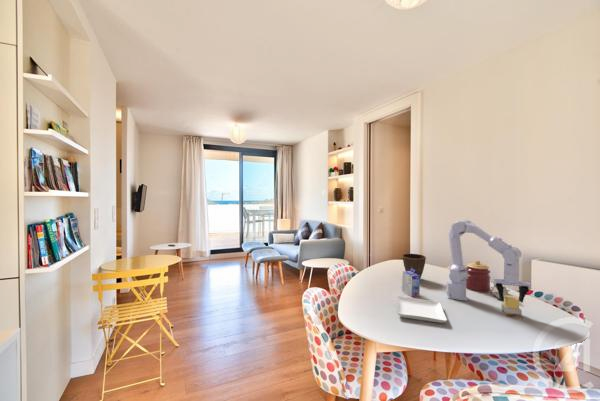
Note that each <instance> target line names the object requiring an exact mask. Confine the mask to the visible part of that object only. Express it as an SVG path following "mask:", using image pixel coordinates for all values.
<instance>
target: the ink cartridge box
mask: <svg viewBox="0 0 600 401" xmlns="http://www.w3.org/2000/svg"><path fill="white" fill-rule="evenodd" d="M411 270H413V271H414V272H415V270H414V269H412V268H411ZM411 270H410V271H404V270H403V271H402V275H401V279H402V281H401V282H402V283H401V292H403V293H405V294H406V295H408V296H410V298H414V297H420V292H421V291H420V289H421V287H420V286H421V285H420V283H421V278H420V275H417V274H415V273H414V272H412V271H411Z"/></svg>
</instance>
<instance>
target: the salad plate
mask: <svg viewBox="0 0 600 401" xmlns="http://www.w3.org/2000/svg"><path fill="white" fill-rule="evenodd" d="M396 304H397V305H396V306H397V308H396V314H397V315H398V316H399V317H402V318H405V319H410V318H411V319H412V320H417V321H423V322H424V321H426V322H432V323H440V324H442V323H443V324H444V323H446V322H447V321H448V318H447V316H446V314H445V312H444V310H443V306H442V304H441V302H439V301H435V300H428V299H421V298H414V297H405V296H397V297H396Z"/></svg>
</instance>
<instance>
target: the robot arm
mask: <svg viewBox="0 0 600 401" xmlns="http://www.w3.org/2000/svg"><path fill="white" fill-rule="evenodd" d="M465 233H466V234H468V233H469V234H474V235H476V236H477V237H479V238H480V239H482V240H483V241H485V242H487V244H488V246H489V247H490V248H491V249H493V250H495V251H496V252H497V253H499V254H500V255H501V256H502V258H503V260H504V262H503V264H504V265H503V279H497V278H496V279H495V278H492V284H493V285H496V287H497V289H498V292H499V295H500V300H503V301H504V298H503V289H504V287H505V286H513V287H518V291H519V295H518V299H519V303H523V302H524V299H525V297H526V295H527V294H528V292H529V291H530V289H532V284H531V282H526V281H521V280H520V258H521V257H522V251H521V250H520V249H519V248H518V247H516V246H513V245H511V244H508V243H507V242H505V241H503V238H501V237H497V236H496V237H495V236H492V235H490V234H489V233H488V232H486V231H484V230H483V229H482V228H480V227H479V226H478V225H476V223H474V222H472V221H471V220H468V219H465V220H457V221H455V222H453V223H452V224H451V228H450V230H449V232H448V238H449V239H448V240H449V246H450V247H449V248H450V258H451V267H450V268H449V274H448V277H449V280H447V281H446V296H447V298H448V299H451V300H458V301H465V302H468V301H469V299H468V297H467V288H466V279H468V277H469V275H468V272H467V271H466V267H467V266H465V265H464V259H463V258H464V257H463V251H462V242H461V237H462V236H463V235H464V234H465Z"/></svg>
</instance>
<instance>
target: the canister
mask: <svg viewBox="0 0 600 401" xmlns="http://www.w3.org/2000/svg"><path fill="white" fill-rule="evenodd" d="M465 267H466V271H467V272H468V275H469V277H468V279H466V290H467V289H468V290H469V291H473V292H478V293H488V292H491V291H490V290H491V276H490V273H491V270H489V266H488V265H486V264H484V263H482V262H481V261H480V260H477V259H476V260H475V261H474V262H469V263H467V264H466V266H465Z"/></svg>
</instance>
